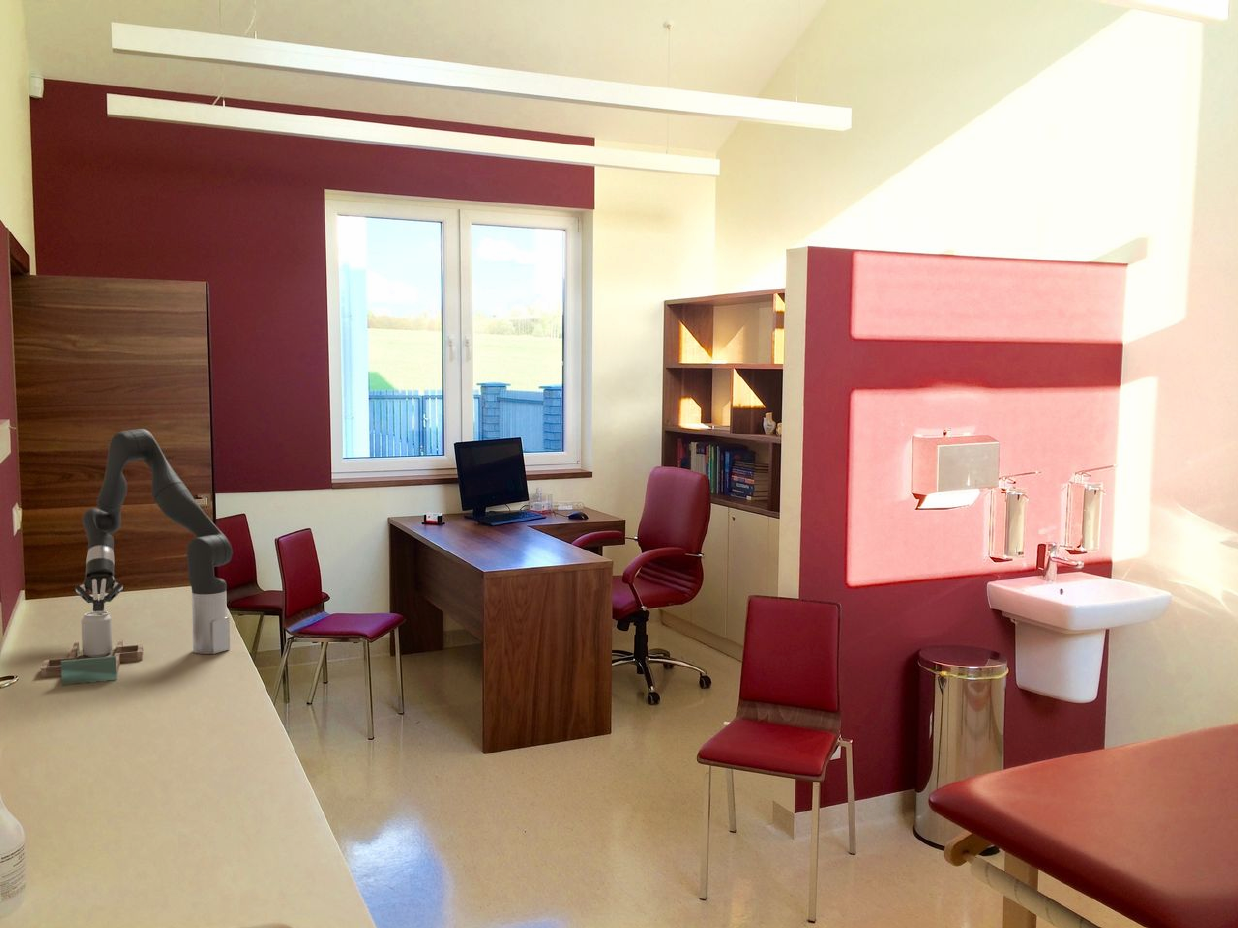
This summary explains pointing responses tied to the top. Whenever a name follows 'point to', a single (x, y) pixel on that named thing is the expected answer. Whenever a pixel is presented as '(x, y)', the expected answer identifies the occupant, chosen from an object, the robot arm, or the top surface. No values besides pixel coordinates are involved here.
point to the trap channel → (91, 665)
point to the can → (96, 634)
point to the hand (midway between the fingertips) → (98, 613)
